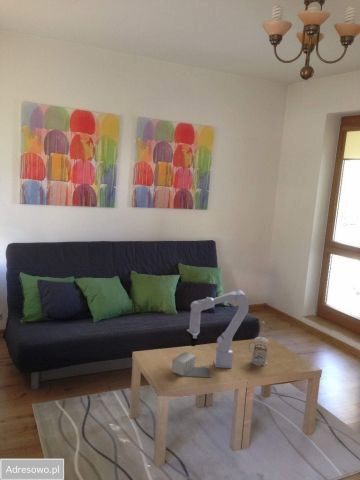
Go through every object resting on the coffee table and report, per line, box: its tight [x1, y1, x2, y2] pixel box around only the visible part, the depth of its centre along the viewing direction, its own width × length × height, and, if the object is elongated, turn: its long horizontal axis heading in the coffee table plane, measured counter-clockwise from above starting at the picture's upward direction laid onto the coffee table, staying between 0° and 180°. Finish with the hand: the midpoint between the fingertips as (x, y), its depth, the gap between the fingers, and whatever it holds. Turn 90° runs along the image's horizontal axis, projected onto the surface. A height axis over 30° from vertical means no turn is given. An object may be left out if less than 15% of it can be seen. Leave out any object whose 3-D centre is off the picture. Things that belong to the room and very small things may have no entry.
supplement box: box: [171, 351, 196, 377], centre depth 228 cm, size 7×7×13 cm
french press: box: [248, 321, 269, 367], centre depth 244 cm, size 10×12×25 cm
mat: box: [175, 366, 211, 379], centre depth 227 cm, size 18×11×1 cm, turn 92°
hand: (193, 345), depth 237 cm, fingers closed
